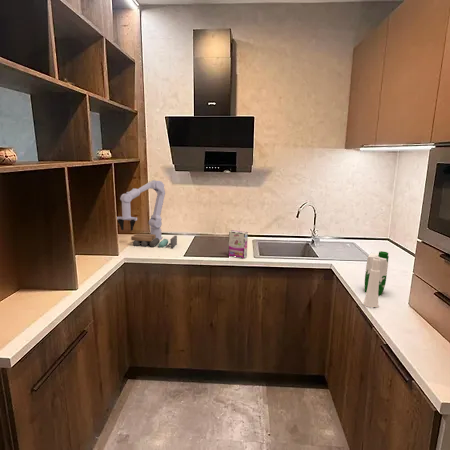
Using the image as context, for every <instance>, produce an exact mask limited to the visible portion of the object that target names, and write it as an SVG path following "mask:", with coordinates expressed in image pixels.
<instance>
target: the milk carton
mask: <svg viewBox="0 0 450 450" xmlns="http://www.w3.org/2000/svg"><path fill="white" fill-rule="evenodd" d="M374 256H378V257H380V258H379V259H380V264H379V270H380V275H379V289H378V296H380V295H381V296H382V294H383V293H384V290H385V286H386V282H387V275H388V267H389V252H388V251H381V250H380V251H378V253H375V252H371V253H370V254H369V255H368V256H367V260H366V265H365V266H366V267H365V275H364V292H365V293H366V292H367V287H368V281H369V275H370V270H371V269H372V262H373V258H374Z"/></svg>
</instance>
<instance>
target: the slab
mask: <svg viewBox="0 0 450 450" xmlns="http://www.w3.org/2000/svg"><path fill="white" fill-rule="evenodd" d="M130 238H131V239H130V240H131V241H152V240H154V239H155V238H156V235H153V234H150V233H149V234H148V233H136V234H134V235H132V236H131V237H130Z"/></svg>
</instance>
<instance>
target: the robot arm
mask: <svg viewBox="0 0 450 450" xmlns="http://www.w3.org/2000/svg"><path fill="white" fill-rule="evenodd" d="M150 189H152V190H153V191H155V193H156V198H155V203H154V206H153V207H154V208H153V212H152V213H153V214H152V215H150V219H149V220H148V225H149V228H150V229H149V230H150V233H149V234H153V235H156V238H158V239H159V240H160V241H162V240H163V236H162V228H161V227H162V226H163V223H162V216H161V214H162V210H163V205H164V200H165V195H166V189H165V184H164V182H163V181H162V180H155V179H153V180H151V181H148V182H147V183H146V184H143V185H142V186H140V187H138V188H134V187H133V188H132V189H131V190H130V191H129V190H128V191H126V193H122V194H121V195H120V197H119V200H120V201H121V215H122V216H116V217H117V220H116V221H117V223H118V224H119V226H120V229H121V231H123V230H124V229H125V228H124V223H125V222H124V221H129V224H130V225H129V226H130V231H131V232H132V231H134V226H135V224H136V221H138V217H137V216H136V217H134V216H132V215H131V214H132V213H131V212H132V210H131V206H132V205H131V202H132V200H134V199H136V198H138V197H140V196H141V193H143V192H145V191H148V190H150Z"/></svg>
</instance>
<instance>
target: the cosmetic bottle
mask: <svg viewBox="0 0 450 450" xmlns="http://www.w3.org/2000/svg"><path fill="white" fill-rule="evenodd" d="M379 258H380V257H378V256H374V258H373V262H372V269H371V270H370V275H369V281H368V287H367V292H365V297H364V301H363V305H364V306H366V307H367V308H370V307H372V309H374V308H373V307H377V308H378V307H380V306H379V295H378V289H379V275H380V270H379V264H380V259H379Z"/></svg>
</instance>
